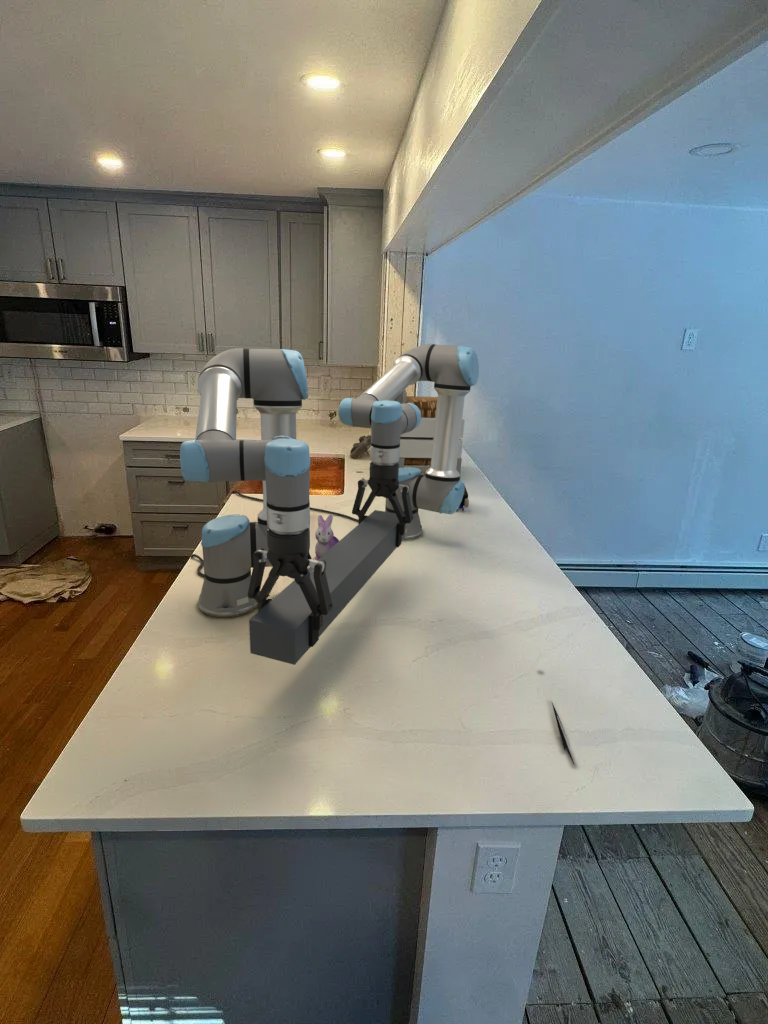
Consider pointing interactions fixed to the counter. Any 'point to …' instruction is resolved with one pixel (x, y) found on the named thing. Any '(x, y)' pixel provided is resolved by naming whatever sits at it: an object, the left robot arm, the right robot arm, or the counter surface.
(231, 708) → the counter surface
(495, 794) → the counter surface
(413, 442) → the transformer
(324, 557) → the thick board
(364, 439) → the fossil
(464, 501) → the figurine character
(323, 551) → the figurine
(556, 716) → the feather
